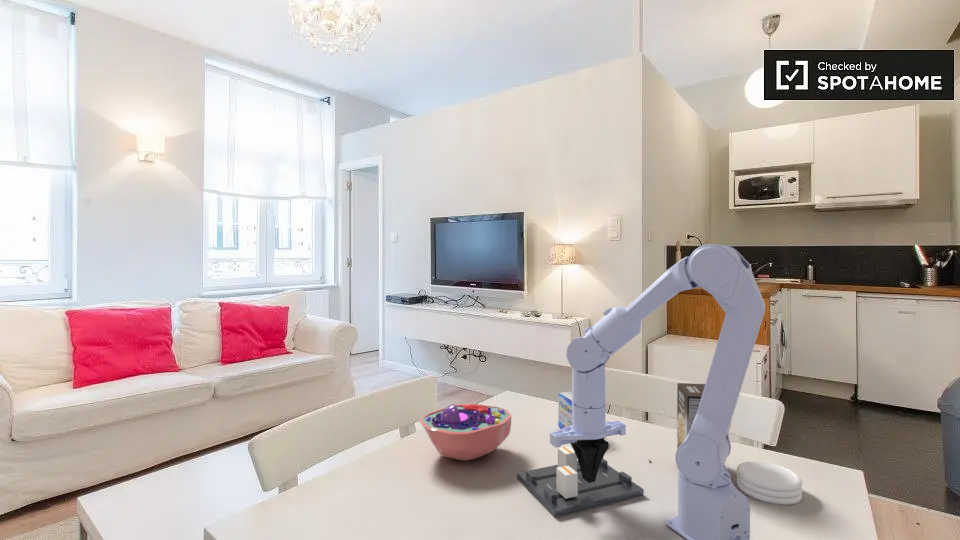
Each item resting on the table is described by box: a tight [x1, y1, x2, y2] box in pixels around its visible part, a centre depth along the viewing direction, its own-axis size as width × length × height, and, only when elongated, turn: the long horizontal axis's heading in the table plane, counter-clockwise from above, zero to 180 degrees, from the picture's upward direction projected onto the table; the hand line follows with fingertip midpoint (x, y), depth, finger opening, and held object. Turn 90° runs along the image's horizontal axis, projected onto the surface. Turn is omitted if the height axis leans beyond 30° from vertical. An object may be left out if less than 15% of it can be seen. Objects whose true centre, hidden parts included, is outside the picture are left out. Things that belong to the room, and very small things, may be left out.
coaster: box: [736, 460, 803, 506], centre depth 82 cm, size 10×10×4 cm
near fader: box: [556, 466, 578, 499], centre depth 79 cm, size 3×2×4 cm
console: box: [516, 457, 645, 519], centre depth 84 cm, size 14×18×2 cm
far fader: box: [557, 446, 578, 472], centre depth 87 cm, size 3×2×4 cm
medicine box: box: [557, 391, 572, 430], centre depth 110 cm, size 8×4×9 cm, turn 17°
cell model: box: [419, 403, 512, 462], centre depth 98 cm, size 17×20×11 cm
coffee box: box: [676, 382, 706, 450], centre depth 90 cm, size 9×6×16 cm
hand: (588, 479), depth 81 cm, fingers closed
